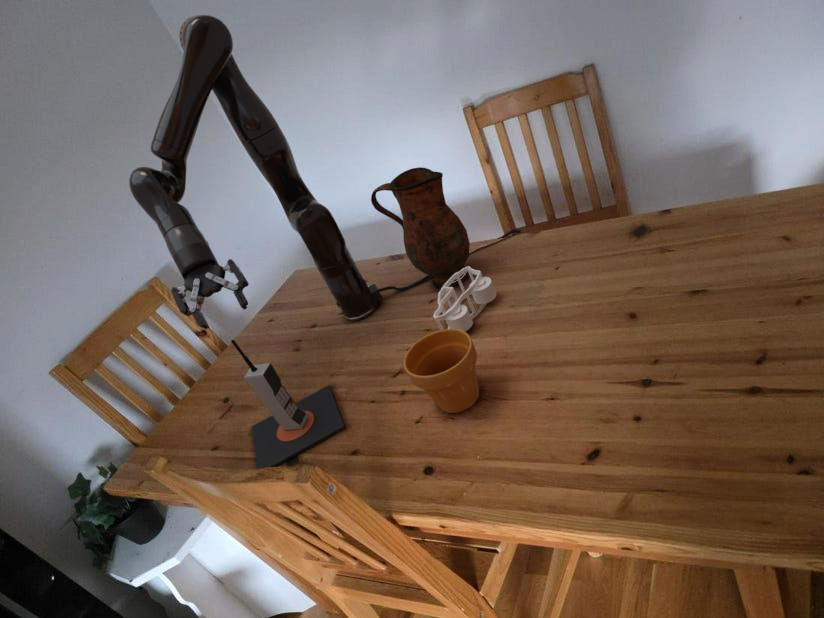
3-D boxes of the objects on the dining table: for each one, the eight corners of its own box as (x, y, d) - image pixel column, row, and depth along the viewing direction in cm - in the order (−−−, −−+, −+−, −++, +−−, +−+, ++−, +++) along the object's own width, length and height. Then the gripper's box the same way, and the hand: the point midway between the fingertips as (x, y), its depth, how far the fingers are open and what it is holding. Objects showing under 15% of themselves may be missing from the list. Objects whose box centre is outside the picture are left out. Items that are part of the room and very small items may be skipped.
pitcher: (472, 293, 153) (429, 187, 135) (400, 301, 162) (351, 202, 143) (488, 257, 164) (451, 154, 146) (420, 266, 173) (377, 170, 155)
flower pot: (418, 395, 129) (394, 351, 121) (476, 364, 131) (456, 318, 123) (440, 434, 118) (415, 388, 110) (502, 399, 119) (482, 351, 112)
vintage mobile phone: (303, 429, 131) (239, 344, 116) (284, 431, 133) (219, 347, 118) (309, 416, 134) (248, 331, 119) (291, 418, 135) (228, 335, 120)
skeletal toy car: (463, 344, 138) (452, 320, 133) (427, 338, 144) (416, 315, 140) (505, 292, 148) (497, 267, 144) (470, 288, 155) (461, 265, 150)
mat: (330, 387, 142) (328, 384, 141) (345, 428, 128) (343, 425, 128) (253, 428, 139) (250, 425, 138) (260, 475, 126) (257, 472, 125)
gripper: (150, 261, 120) (185, 330, 118) (215, 229, 122) (251, 296, 120) (167, 273, 127) (201, 338, 125) (228, 242, 129) (262, 306, 127)
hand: (225, 317), depth 123 cm, fingers open, 8 cm apart
